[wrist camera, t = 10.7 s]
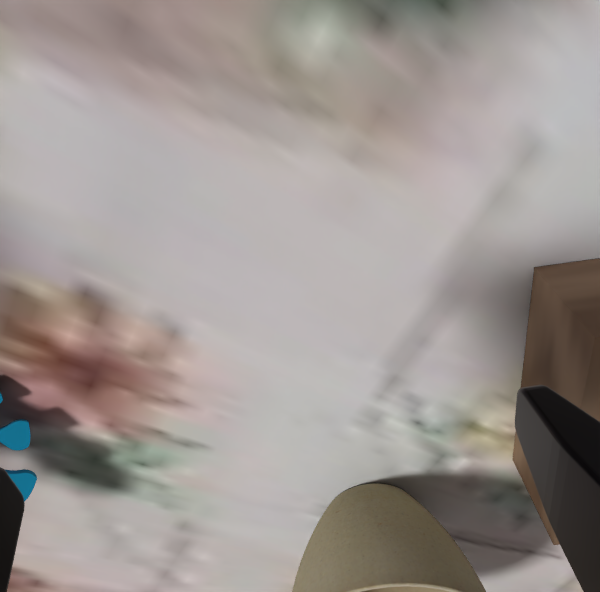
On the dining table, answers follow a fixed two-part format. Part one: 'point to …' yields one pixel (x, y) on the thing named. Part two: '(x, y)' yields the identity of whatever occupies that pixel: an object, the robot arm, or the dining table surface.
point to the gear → (18, 439)
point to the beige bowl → (382, 547)
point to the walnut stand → (562, 346)
